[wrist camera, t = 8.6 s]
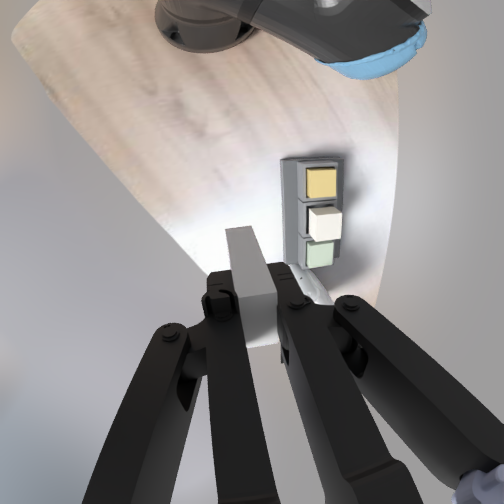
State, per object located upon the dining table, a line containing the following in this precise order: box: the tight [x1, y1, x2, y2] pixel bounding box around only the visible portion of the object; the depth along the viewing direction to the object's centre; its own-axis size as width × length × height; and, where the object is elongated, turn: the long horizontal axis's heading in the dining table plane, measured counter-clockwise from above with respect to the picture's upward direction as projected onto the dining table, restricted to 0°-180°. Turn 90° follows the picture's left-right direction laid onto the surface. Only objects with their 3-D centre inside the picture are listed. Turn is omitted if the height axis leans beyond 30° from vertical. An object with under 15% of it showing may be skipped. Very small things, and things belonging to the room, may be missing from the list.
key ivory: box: [309, 207, 342, 242], centre depth 39 cm, size 4×4×3 cm
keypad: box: [280, 157, 343, 270], centre depth 43 cm, size 18×10×4 cm, turn 4°
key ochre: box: [306, 167, 336, 198], centre depth 38 cm, size 4×4×3 cm
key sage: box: [306, 240, 334, 268], centre depth 44 cm, size 4×4×3 cm
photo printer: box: [290, 263, 334, 305], centre depth 45 cm, size 10×4×12 cm, turn 38°
